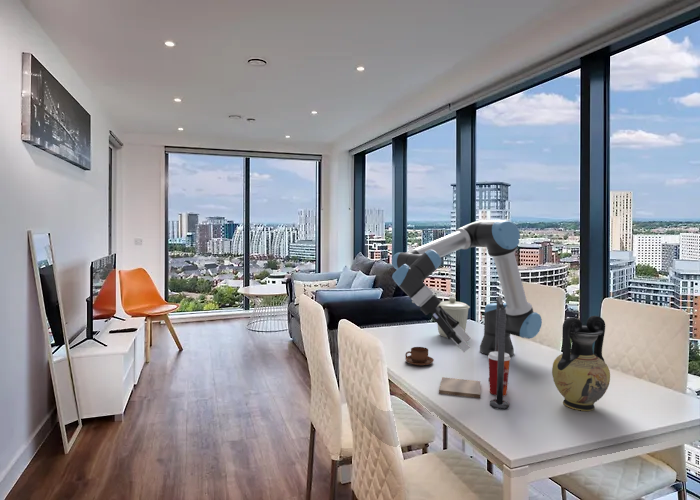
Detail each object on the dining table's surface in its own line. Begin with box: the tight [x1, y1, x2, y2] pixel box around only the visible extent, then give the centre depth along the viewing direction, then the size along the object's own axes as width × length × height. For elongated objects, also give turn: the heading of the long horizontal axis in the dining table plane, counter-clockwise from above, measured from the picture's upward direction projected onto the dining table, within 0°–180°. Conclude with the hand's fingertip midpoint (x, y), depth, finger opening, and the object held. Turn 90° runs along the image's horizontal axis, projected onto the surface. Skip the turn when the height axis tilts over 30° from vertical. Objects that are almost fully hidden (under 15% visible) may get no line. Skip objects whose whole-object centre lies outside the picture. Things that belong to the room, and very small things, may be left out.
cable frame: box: [489, 296, 510, 411], centre depth 159 cm, size 30×6×33 cm, turn 164°
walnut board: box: [438, 376, 481, 399], centre depth 164 cm, size 14×14×1 cm
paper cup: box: [487, 351, 512, 397], centre depth 160 cm, size 8×8×14 cm
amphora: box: [551, 315, 611, 412], centre depth 149 cm, size 18×17×30 cm
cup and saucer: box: [405, 346, 435, 366], centre depth 193 cm, size 12×12×6 cm
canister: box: [437, 296, 471, 339], centre depth 240 cm, size 18×18×21 cm
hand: (467, 344), depth 162 cm, fingers open, 13 cm apart
